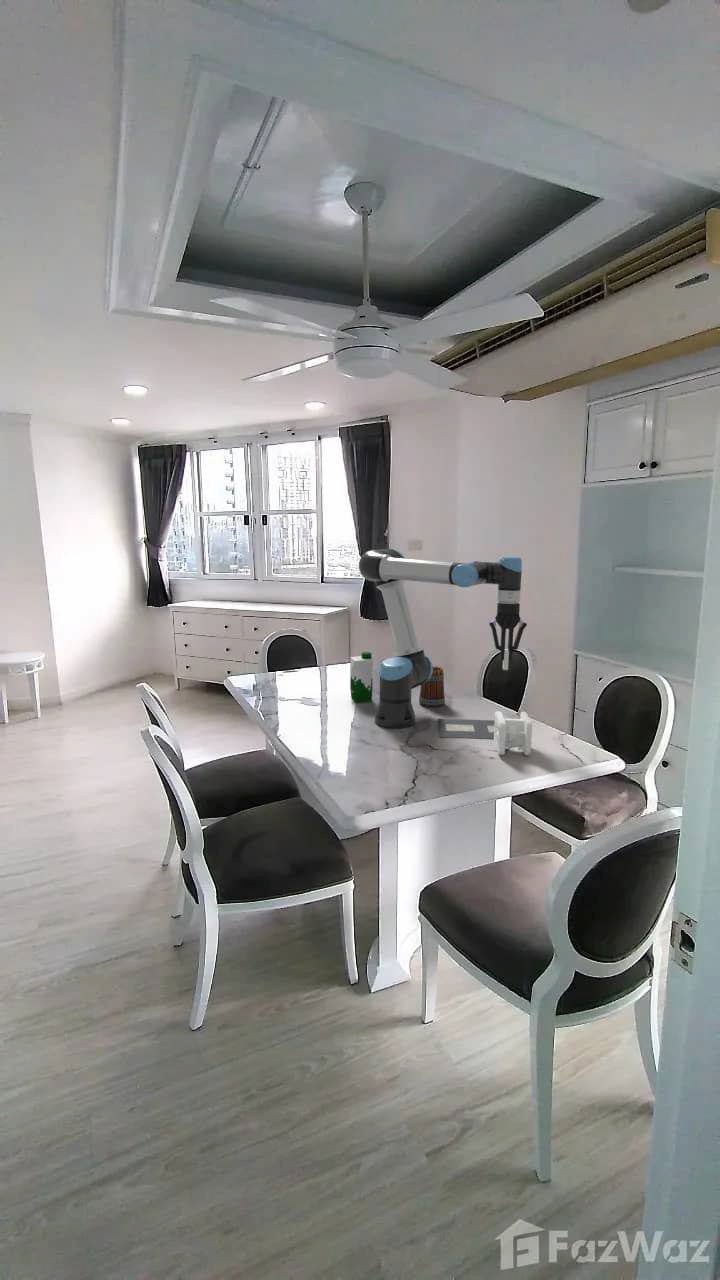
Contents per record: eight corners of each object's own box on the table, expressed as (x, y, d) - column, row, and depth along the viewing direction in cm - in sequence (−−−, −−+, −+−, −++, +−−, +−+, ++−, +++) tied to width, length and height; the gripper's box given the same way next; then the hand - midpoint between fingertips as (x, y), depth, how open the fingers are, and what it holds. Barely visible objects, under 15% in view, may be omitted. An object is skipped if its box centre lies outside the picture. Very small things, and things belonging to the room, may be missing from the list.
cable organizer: (531, 759, 189) (533, 724, 187) (496, 758, 190) (498, 723, 188) (523, 743, 204) (525, 709, 202) (491, 741, 205) (493, 708, 203)
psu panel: (439, 737, 209) (439, 736, 209) (437, 719, 228) (437, 718, 228) (528, 740, 206) (528, 739, 206) (518, 721, 226) (518, 721, 226)
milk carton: (374, 702, 250) (374, 655, 246) (353, 703, 247) (353, 656, 244) (369, 696, 258) (369, 650, 254) (348, 698, 256) (348, 651, 252)
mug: (446, 708, 242) (447, 671, 240) (419, 707, 243) (420, 671, 240) (441, 697, 258) (442, 662, 255) (416, 697, 258) (417, 662, 255)
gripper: (490, 603, 205) (487, 671, 209) (530, 603, 204) (526, 672, 208) (488, 600, 212) (485, 666, 217) (525, 601, 211) (522, 667, 216)
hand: (505, 669), depth 212 cm, fingers closed
